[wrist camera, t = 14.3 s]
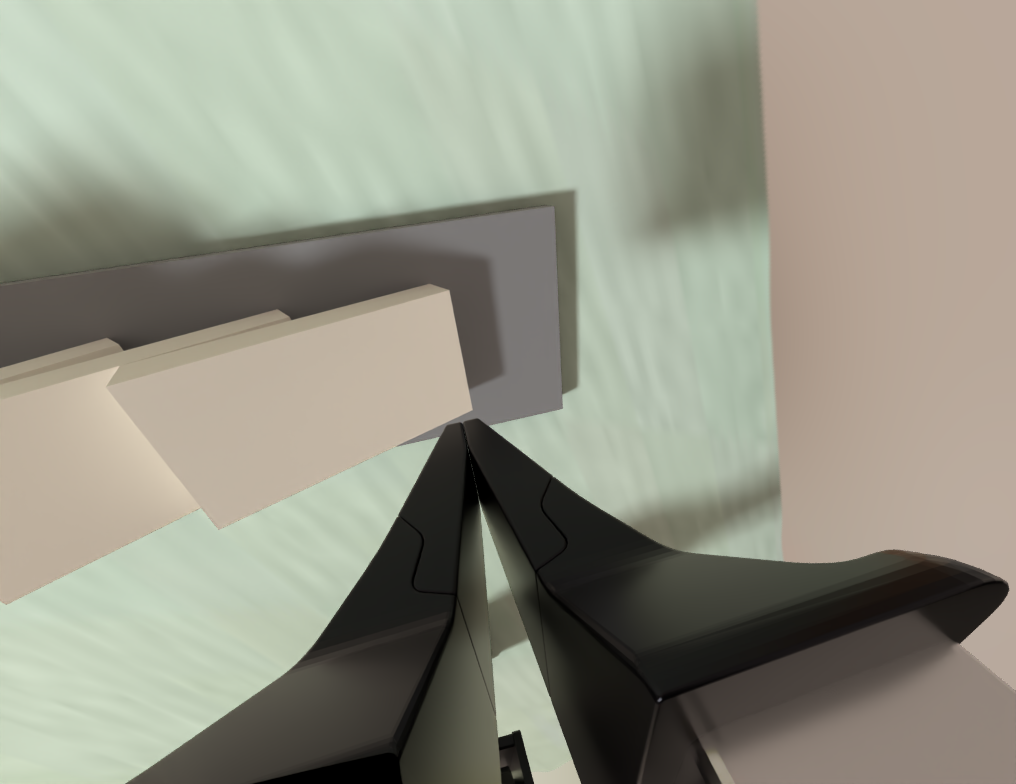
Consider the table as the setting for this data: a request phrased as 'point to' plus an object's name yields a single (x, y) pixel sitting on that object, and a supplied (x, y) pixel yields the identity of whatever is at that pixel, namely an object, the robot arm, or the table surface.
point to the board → (330, 299)
